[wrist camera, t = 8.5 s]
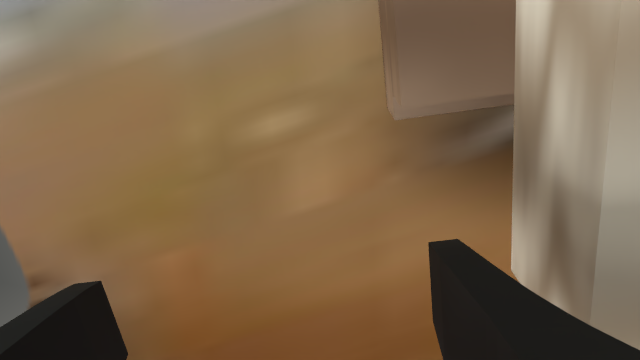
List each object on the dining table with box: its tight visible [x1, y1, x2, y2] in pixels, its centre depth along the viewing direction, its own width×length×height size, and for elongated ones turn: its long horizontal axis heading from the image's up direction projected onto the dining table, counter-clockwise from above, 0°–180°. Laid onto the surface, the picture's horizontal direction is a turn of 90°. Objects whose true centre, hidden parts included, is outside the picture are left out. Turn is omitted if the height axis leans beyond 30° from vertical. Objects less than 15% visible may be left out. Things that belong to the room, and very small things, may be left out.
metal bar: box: [511, 0, 640, 350], centre depth 11 cm, size 16×3×5 cm, turn 8°
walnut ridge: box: [378, 0, 516, 120], centre depth 15 cm, size 5×10×4 cm, turn 98°
